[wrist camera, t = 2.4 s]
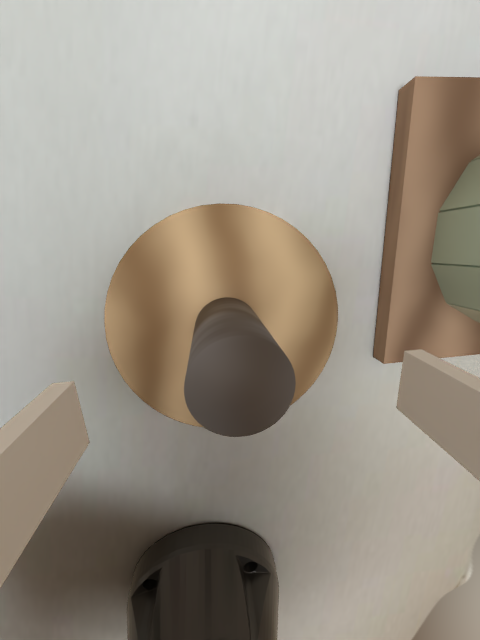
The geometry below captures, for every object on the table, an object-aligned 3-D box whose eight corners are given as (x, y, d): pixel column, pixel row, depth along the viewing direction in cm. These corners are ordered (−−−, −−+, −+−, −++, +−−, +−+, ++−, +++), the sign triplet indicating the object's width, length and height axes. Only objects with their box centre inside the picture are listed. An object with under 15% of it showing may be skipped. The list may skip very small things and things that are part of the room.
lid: (130, 430, 23) (72, 566, 13) (88, 210, 18) (-54, 165, 8) (326, 407, 25) (404, 512, 15) (336, 202, 20) (461, 157, 10)
